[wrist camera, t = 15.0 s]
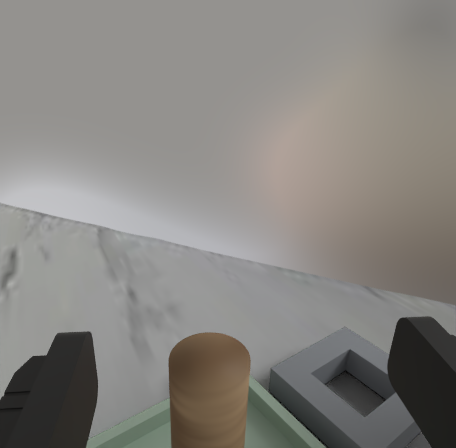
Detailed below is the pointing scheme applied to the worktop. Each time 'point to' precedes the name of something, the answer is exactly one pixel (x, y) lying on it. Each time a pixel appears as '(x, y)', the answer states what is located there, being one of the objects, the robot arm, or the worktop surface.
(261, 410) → the tray
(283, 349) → the worktop surface
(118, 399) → the worktop surface
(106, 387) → the worktop surface
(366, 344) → the socket block
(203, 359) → the dowel
